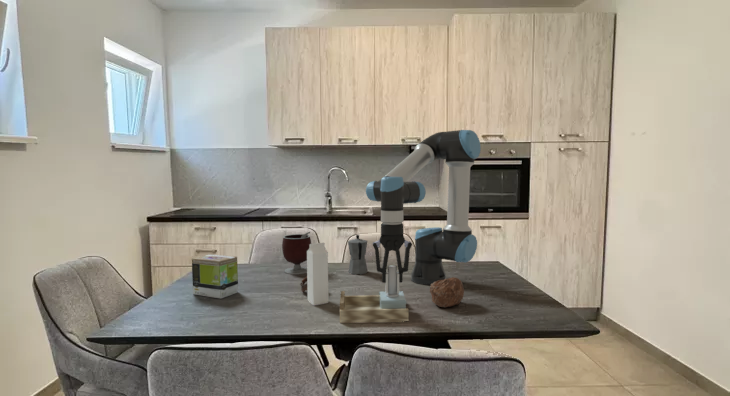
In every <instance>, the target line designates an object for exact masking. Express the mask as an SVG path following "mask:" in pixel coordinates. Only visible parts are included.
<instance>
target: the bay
mask: <svg viewBox="0 0 730 396" xmlns="http://www.w3.org/2000/svg"><path fill="white" fill-rule="evenodd" d="M345 292H346V291H345V290H342V291H340V298H339V324H344V323H345V324H350V323H351V324H353V323H354V324H355V323H356V324H357V323H360V324H361V323H363V324H364V323H367V324H368V323H405V322H404V321H410V320H409V317H410V315H409V308H408V307H406V308H400V309H380V295H379V294H369V295H366V294H365V295H346V293H345ZM402 321H403V322H402Z"/></svg>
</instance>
